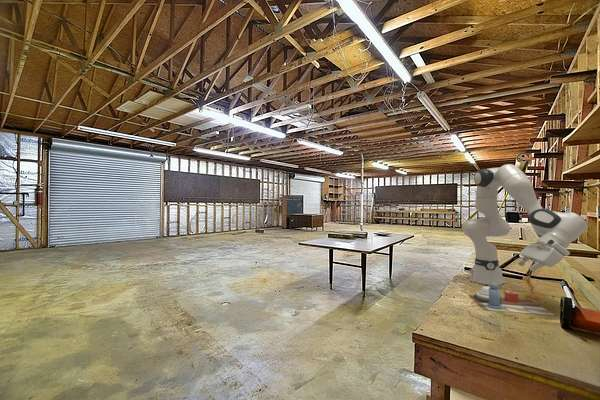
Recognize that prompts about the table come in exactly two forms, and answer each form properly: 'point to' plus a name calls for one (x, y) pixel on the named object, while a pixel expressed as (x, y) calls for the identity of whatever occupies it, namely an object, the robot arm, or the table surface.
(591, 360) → the table surface
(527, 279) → the figurine
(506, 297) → the red die
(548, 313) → the game board
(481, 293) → the dome
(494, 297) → the pawn
